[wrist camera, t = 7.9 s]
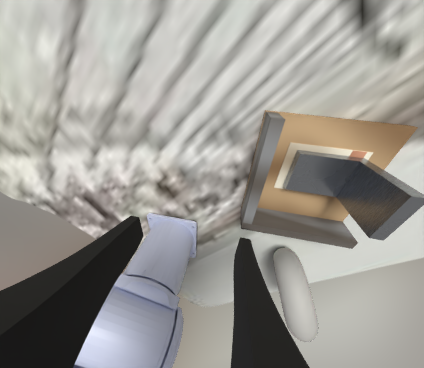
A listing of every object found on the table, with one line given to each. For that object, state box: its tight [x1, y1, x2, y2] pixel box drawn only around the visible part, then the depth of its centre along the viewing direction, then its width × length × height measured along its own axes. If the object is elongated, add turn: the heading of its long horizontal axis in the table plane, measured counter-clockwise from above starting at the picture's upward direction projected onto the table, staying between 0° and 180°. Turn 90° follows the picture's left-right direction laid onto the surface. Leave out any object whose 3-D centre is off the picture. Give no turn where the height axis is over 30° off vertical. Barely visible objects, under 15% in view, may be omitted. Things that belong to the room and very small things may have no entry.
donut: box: [273, 248, 318, 342], centre depth 20 cm, size 10×4×10 cm, turn 19°
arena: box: [241, 110, 418, 249], centre depth 15 cm, size 12×12×4 cm
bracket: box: [284, 150, 424, 240], centre depth 13 cm, size 6×4×6 cm, turn 86°
